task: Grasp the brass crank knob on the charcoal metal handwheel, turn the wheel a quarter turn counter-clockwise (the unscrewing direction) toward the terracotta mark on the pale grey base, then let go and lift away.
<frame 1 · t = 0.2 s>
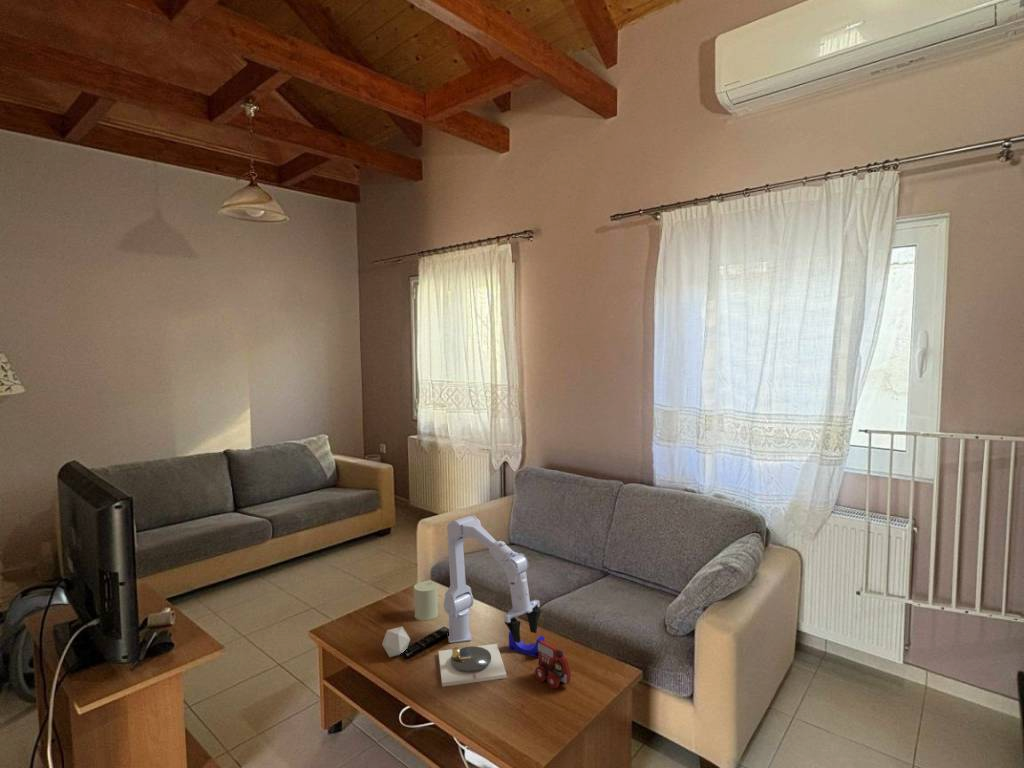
hand: (525, 636, 170), 10 cm above the table, tool pointing down, fingers open, 7 cm apart
toy fire truck: (553, 680, 164), on the table
cable clip: (527, 651, 181), on the table
wheel base: (471, 665, 172), on the table
die: (396, 653, 180), on the table
handwheel: (471, 653, 172), point 4 cm above the table, hinge at 0.0°
can: (426, 615, 207), on the table
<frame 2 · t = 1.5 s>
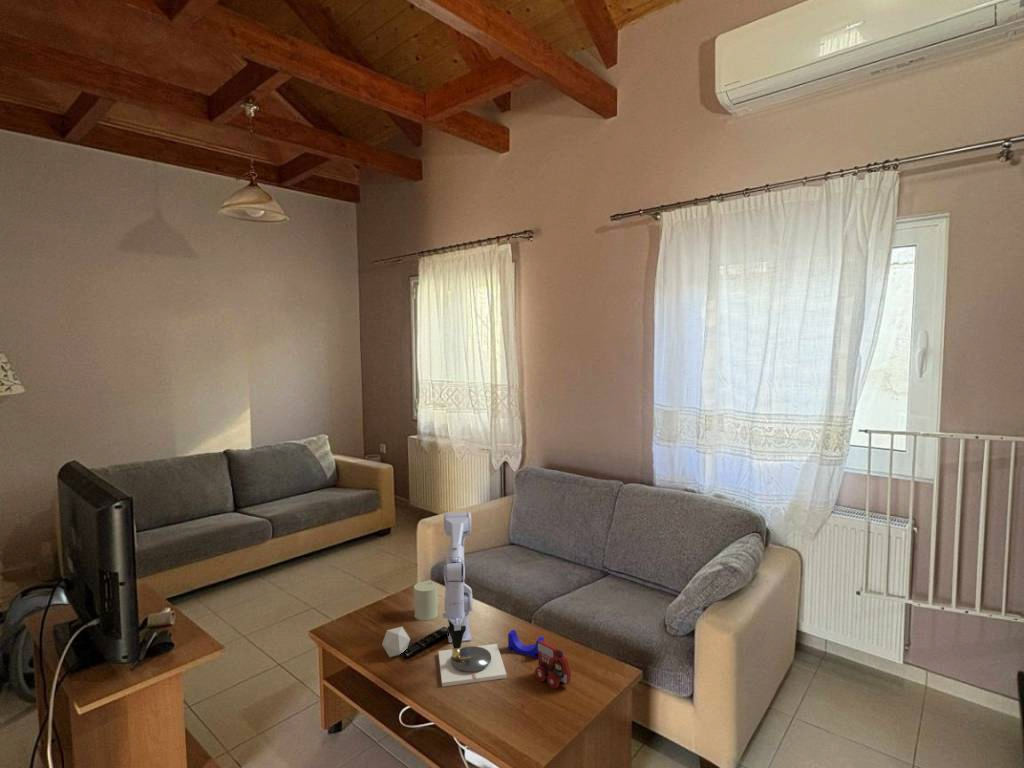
hand: (455, 641, 171), 9 cm above the table, tool pointing down, fingers open, 7 cm apart
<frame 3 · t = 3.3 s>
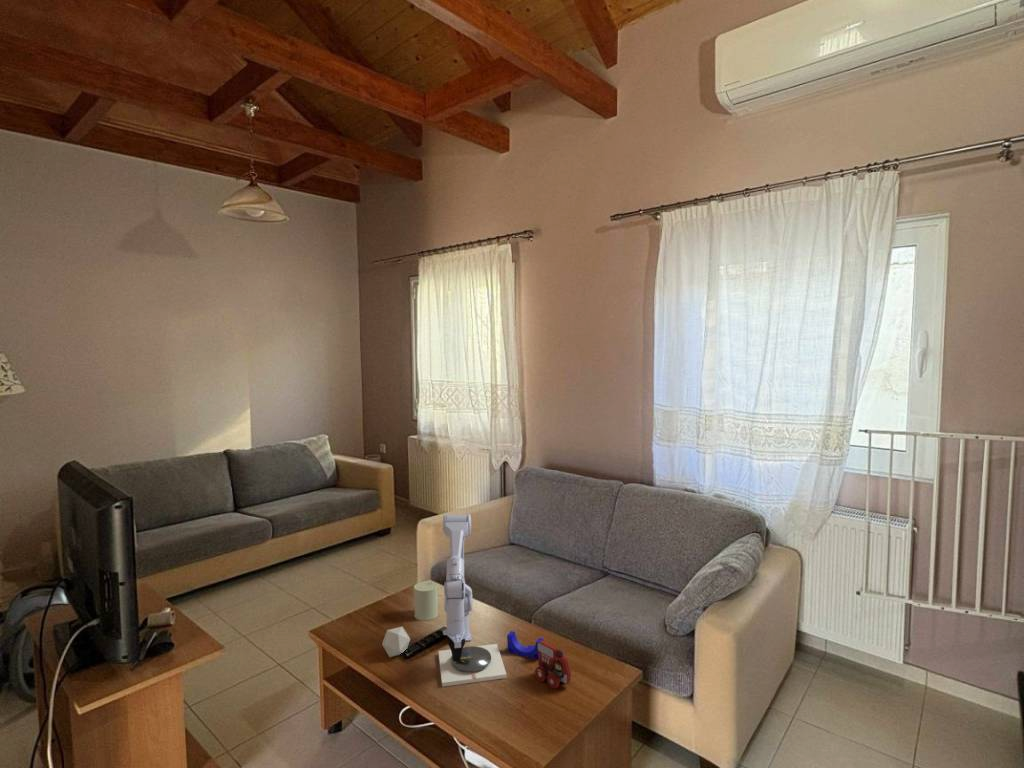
hand: (456, 657, 171), 3 cm above the table, tool pointing down, fingers closed on handwheel, 2 cm apart
handwheel: (471, 653, 172), point 4 cm above the table, hinge at 0.0°, touching gripper
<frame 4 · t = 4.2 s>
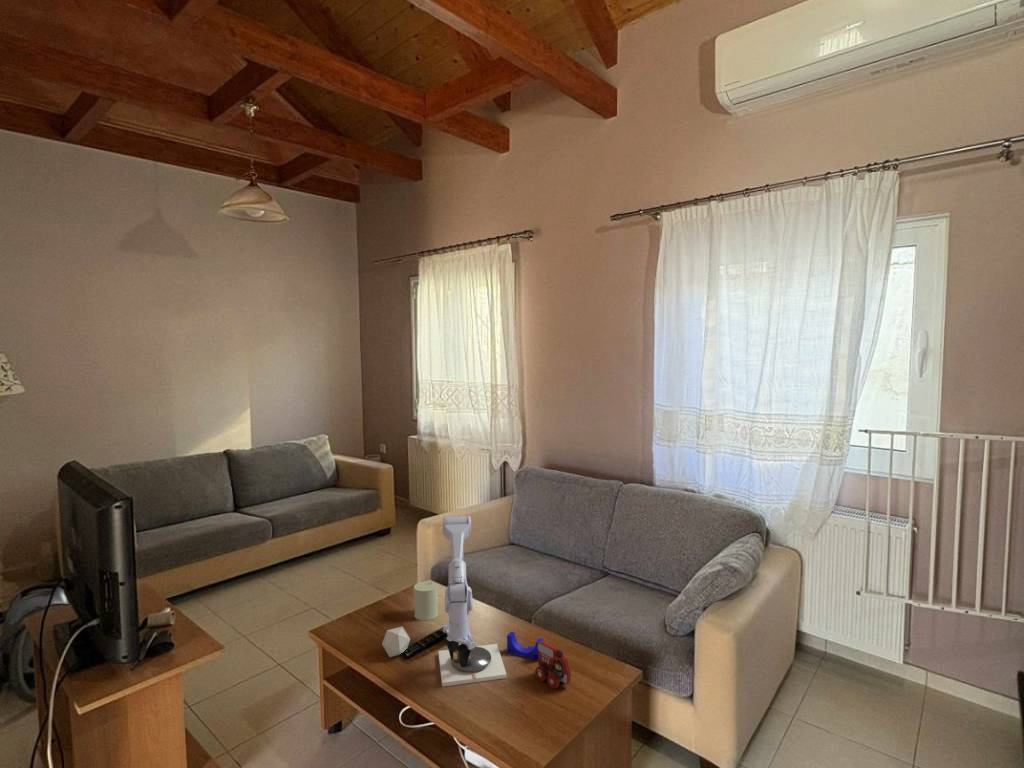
hand: (459, 661, 169), 3 cm above the table, tool pointing down, fingers open, 5 cm apart
handwheel: (471, 653, 172), point 4 cm above the table, hinge at 12.0°, touching gripper
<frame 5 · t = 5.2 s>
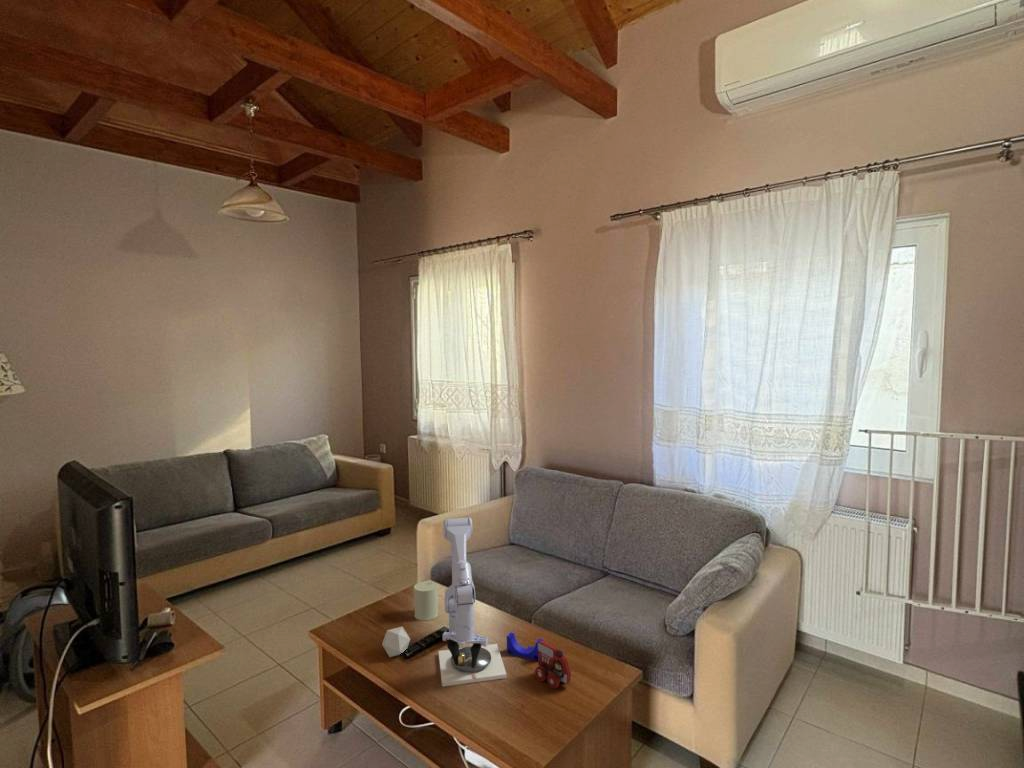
hand: (465, 664, 168), 3 cm above the table, tool pointing down, fingers open, 5 cm apart
handwheel: (471, 653, 172), point 4 cm above the table, hinge at 41.8°, touching gripper
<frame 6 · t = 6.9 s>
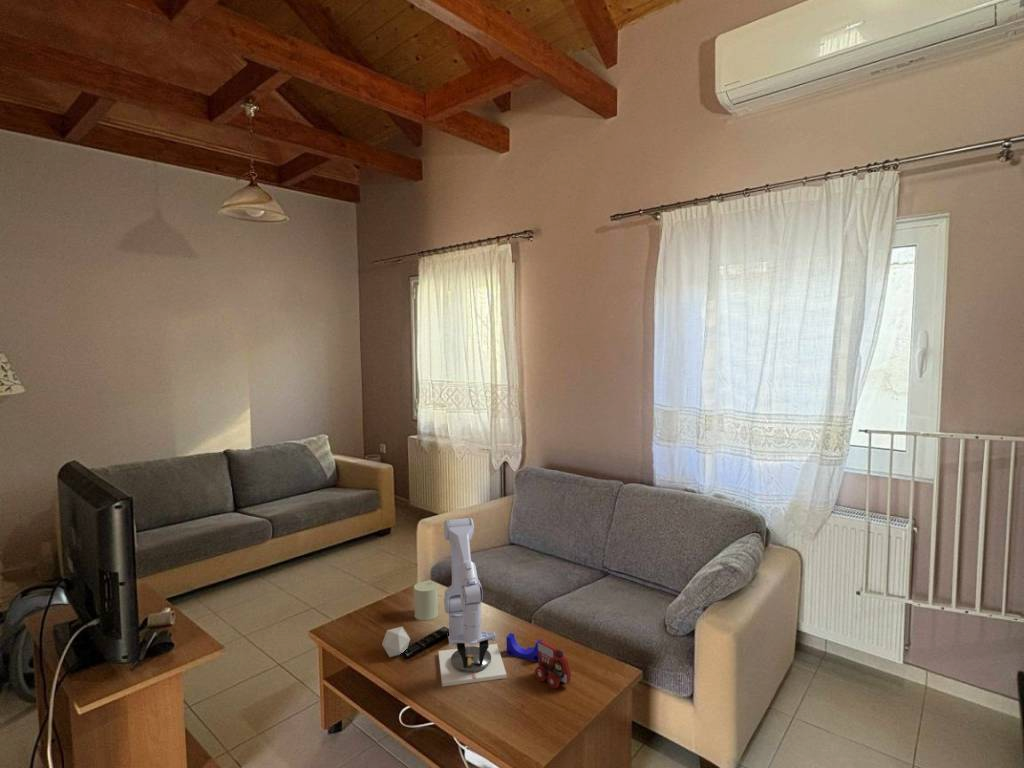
hand: (472, 664, 167), 3 cm above the table, tool pointing down, fingers open, 4 cm apart
handwheel: (471, 653, 172), point 4 cm above the table, hinge at 76.3°, touching gripper
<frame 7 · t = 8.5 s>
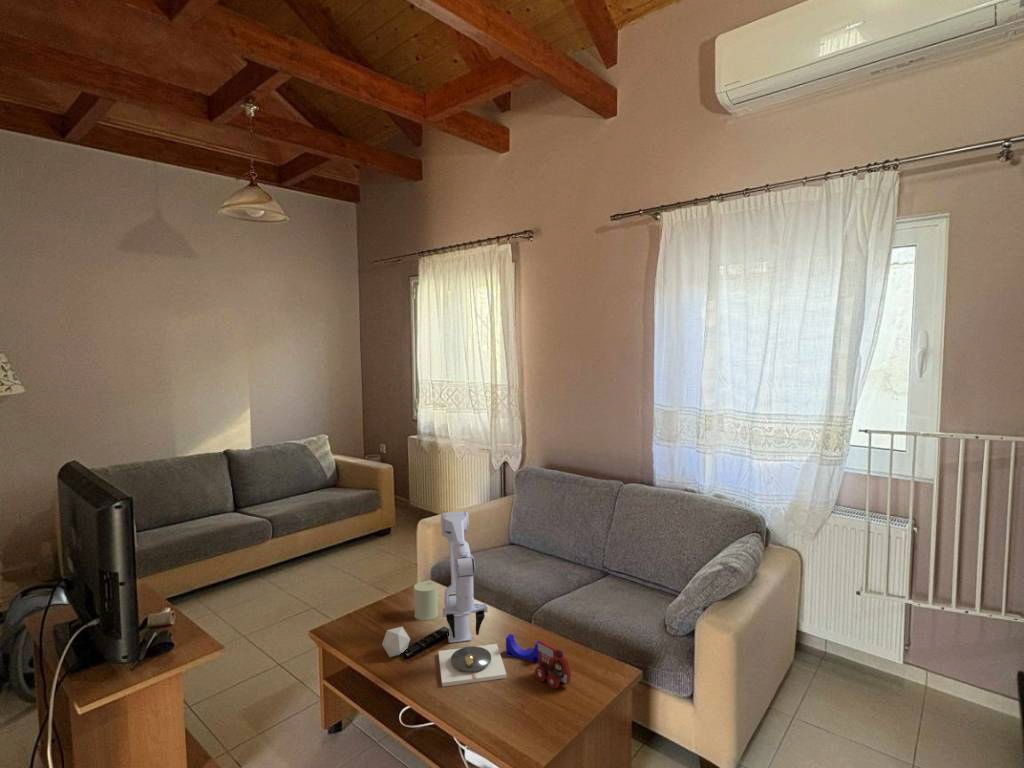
hand: (465, 634, 174), 9 cm above the table, tool pointing down, fingers open, 7 cm apart
handwheel: (471, 653, 172), point 4 cm above the table, hinge at 76.3°
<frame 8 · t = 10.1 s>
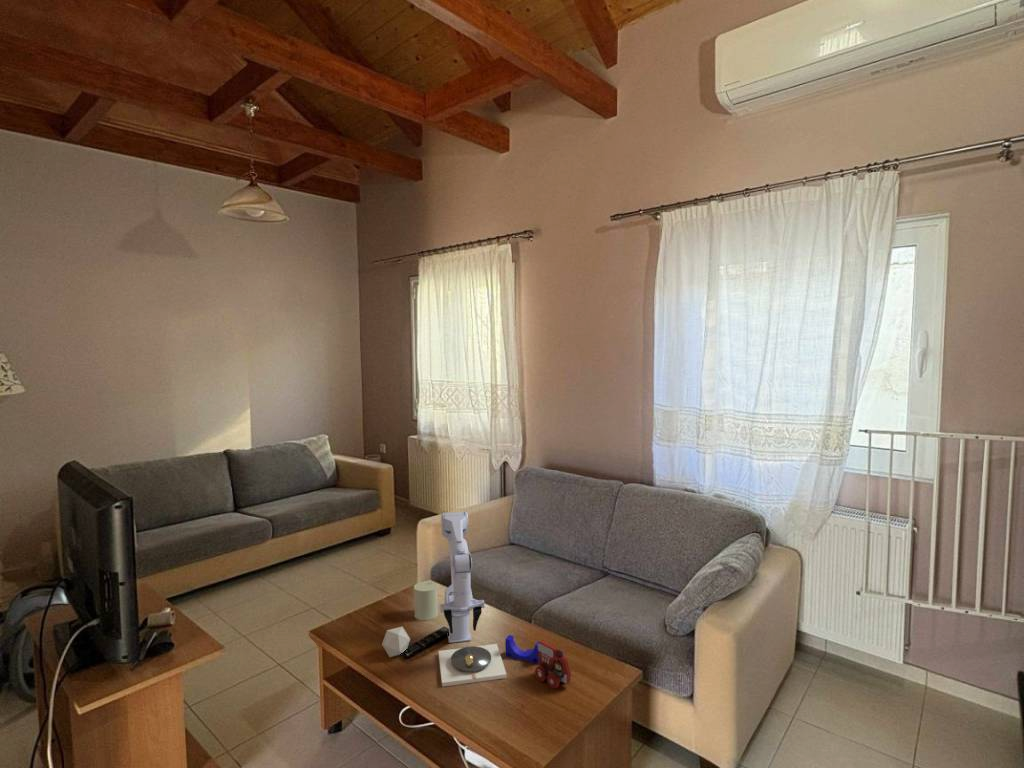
hand: (462, 630, 176), 9 cm above the table, tool pointing down, fingers open, 7 cm apart
at the end: handwheel at +76° (first picture: +0°); the gripper is holding nothing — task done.
